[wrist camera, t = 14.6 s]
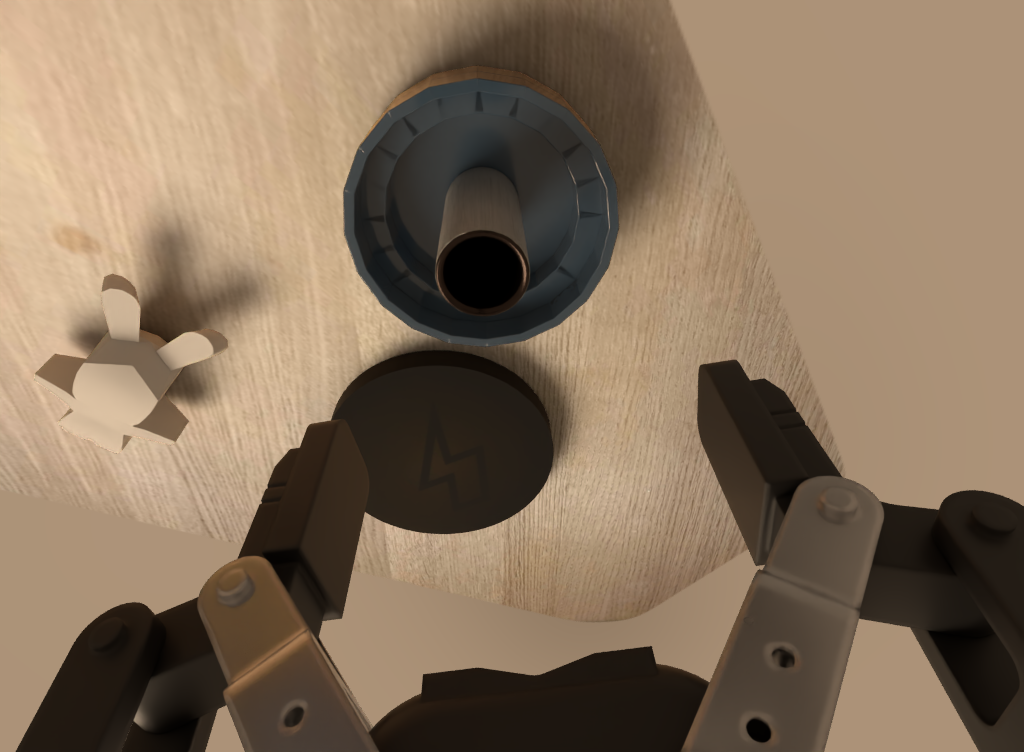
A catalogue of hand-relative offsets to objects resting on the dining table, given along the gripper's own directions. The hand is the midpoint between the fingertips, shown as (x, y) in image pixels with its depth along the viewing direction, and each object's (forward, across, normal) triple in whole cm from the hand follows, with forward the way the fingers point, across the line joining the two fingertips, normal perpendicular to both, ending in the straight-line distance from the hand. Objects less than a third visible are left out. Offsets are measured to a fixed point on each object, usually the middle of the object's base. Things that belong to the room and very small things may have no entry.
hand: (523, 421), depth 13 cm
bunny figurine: (+26, +28, +11) cm, 40 cm away
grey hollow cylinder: (+26, +2, +4) cm, 26 cm away
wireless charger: (+26, +9, +23) cm, 36 cm away
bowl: (+26, +2, +4) cm, 27 cm away
